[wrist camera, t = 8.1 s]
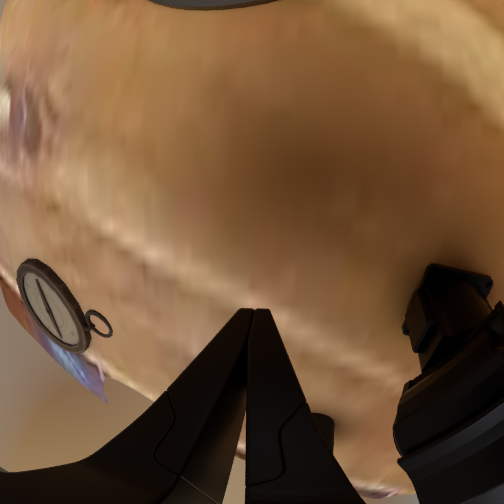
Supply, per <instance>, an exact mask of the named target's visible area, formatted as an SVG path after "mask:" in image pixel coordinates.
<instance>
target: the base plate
mask: <svg viewBox="0 0 504 504" xmlns="http://www.w3.org/2000/svg"><path fill="white" fill-rule="evenodd" d="M149 1H152V2H154V3H156V4H159V5H163V6H167V7H171V8H178V9H185V10H224V9H232V8H241V7H248V6H253V5H258V4H264V3H269V2H273V1H277V0H149Z"/></svg>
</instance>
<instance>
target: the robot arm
mask: <svg viewBox="0 0 504 504" xmlns="http://www.w3.org/2000/svg"><path fill="white" fill-rule="evenodd" d="M432 270H435V272H433V273H431V271H432ZM487 282H489V283H488V284H486V283H487ZM492 286H493V280H492V279H491V277H489V276H486V275H481V274H477V273H473V272H468V271H464V270H460V269H455V268H451V267H446V266H442V265H437V264H431V265H429V266H428V267H427V269H426V272H425V275H424V277H423V280H422V282H421V285H420V287H419V288H418V289H417V290H416V291H415V294H414V296H413V299H412V301H411V303H410V306H409V308H408V310H407V313H406V315H405V317H406V320H405V322H404V324H403V327H402V331H403V334H404V335H408V336H410V340H411V345H412V350H413V352H414V353H418V356H419V361H420V366H421V372H422V373H421V374H420V375H419V376H417V377H416V378H415V379H413V380H410V381H408V382H407V383H405V384H404V388H403V392H402V396H401V398H400V401H399V404H398V408H397V415H396V418H395V422H394V424H393V438H394V443H395V445H396V448H397V450H398V452H399V454H400V455H401V456H402V457H401V458H399V459H398V460H397V463H398V464H399V466H400V467H401V468H402V469H403V470H404V471H405V472H406V473H407V475H408V476H409V478H410V479H411V481H412V483H413V485H414V488H415V491H416V494H417V497H418V500H419V503H420V504H504V304H503V302H502V301H501V300H500V301H499V302H498V303H497V304H496V305H495V308H494V309H492V308H491V306H490V304H489V302H488V301H487V299H486V298H487V296H488V294H489V292H490V290H491V288H492ZM406 329H408V330H406ZM245 412H246V471H245V473H246V475H245V478H246V479H245V485H246V488H245V504H366V503H365V502H364V501H363V499H362V498H361V497H360V496H359V494H358V493H357V491H356V490H355V489H354V487H353V486H352V484H351V483H350V481H349V479H348V478H347V476H346V475H345V473H344V471H343V470H342V468H341V467H340V465H339V463H338V462H337V460H336V459H335V457H334V455H333V454H332V452H331V450H330V449H329V447H328V445H327V443H326V442H325V440H324V438H323V436H322V434H321V432H320V431H319V428H318V426H317V424H316V422H315V420H314V417H313V415H312V413H311V410H310V408H309V405H308V403H307V402H306V398H305V396H304V393H303V391H302V389H301V386H300V384H299V381H298V379H297V376H296V374H295V371H294V369H293V366H292V364H291V361H290V359H289V356H288V354H287V351H286V349H285V346H284V344H283V341H282V339H281V336H280V334H279V331H278V329H277V326H276V324H275V321H274V319H273V316H272V314H271V311H270V310H269V309H259V308H257V309H255V310H254V309H252V308H240V309H239V310H238V311H237V312H236V313H235V314H234V315H233V316H232V318H231V319H230V320H229V321H228V322H227V323H226V324H225V325H224V327H223V328H222V329H221V330H220V331H219V332H218V333H217V334H216V336H215V337H214V338H213V339H212V340H211V341H210V342H209V343H208V345H207V346H206V347H205V348H204V349H203V350H202V351H201V352H200V353H199V355H198V356H197V357H196V358H195V359H194V360H193V361H192V362H191V363H190V364H189V366H188V367H187V368H186V369H185V370H184V371H183V372H182V373H181V374H180V375H179V376H178V378H177V379H176V380H175V381H174V382H173V383H172V384H171V385H170V386H169V387H168V388H167V391H164V392H163V394H162V395H161V396H160V397H159V398H158V399H157V400H156V401H155V402H154V403H153V404H152V405H151V406H150V407H149V408H148V409H147V410H146V411H145V412H144V413H143V414H142V415H141V416H140V417H138V418H137V419H136V420H135V421H134V422H133V423H131V424H130V425H129V426H128V427H127V428H126V429H124V430H123V431H122V432H121V433H119V434H118V435H117V436H116V437H114V438H113V439H112V440H111V441H109V442H108V443H107V444H106V445H104V446H103V447H102V448H100V449H99V450H98V451H96V452H95V453H94V454H92V455H90V456H89V457H87V458H85V459H82V460H80V461H77V462H74V463H69V464H65V465H60V466H54V467H49V468H43V469H36V470H30V471H22V472H8V471H6V470H4V469H3V468H1V467H0V504H222V502H223V499H224V495H225V491H226V487H227V484H228V480H229V475H230V472H231V468H232V464H233V460H234V457H235V453H236V449H237V445H238V441H239V437H240V432H241V428H242V424H243V420H244V416H245Z"/></svg>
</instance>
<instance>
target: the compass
mask: <svg viewBox="0 0 504 504" xmlns="http://www.w3.org/2000/svg"><path fill="white" fill-rule="evenodd" d="M16 280H17V284H18V288H19V291H20V294H21V297H22V300H23V302H24V304H25V306H26V307H27V309H28V311H29V313H30V315H31V316H32V318H33V319H34V320H35V322H36V323H37V325H38V326H39V327H40V329H41V330H42V331H43V332H44V333H45V334H46V335H47V336H48V337H49V338H50V339H51V340H52V341H53V342H54V343H56V344H57V345H58V346H60V347H61V348H63V349H64V350H66V351H68V352H71V353H74V354H80V353H84V352H85V351H86V349H87V348H88V347H89V344H90V341H91V334H90V330H93V331H94V332H96V333H97V334H98V335H100V336H102V337H106V338H109V337H111V336H112V333H113V330H112V328H111V325H110V324H109V322H108V321H107V320H106V318H104V317H103V316H102V315H101V314H100V313H98V312H95V311H88V312H87V313H86V314H85V316H84V314H83V312H82V310H81V308H80V305H79V303H78V302H77V301H76V299H75V298H74V296H73V295H72V293H71V292H70V290H69V289H68V287H67V286H66V284H65V283H64V282H63V281H62V280H61V279H60V278H59V277H58V276H57V274H56V273H55V272H54V271H53V270H52V269H51V268H50V267H49V266H47V265H46V264H44V263H42V262H41V261H39V260H38V259H27V260H26V261H24V262H23V263H22V264H21V265H20V266H19V268H18V270H17V279H16ZM89 315H94V316H96V317H98V318H100V319H101V320H102V321H103V322H104V323H105V324H106V325H107V326H108V328H109V334H108V335H106V334H103V333H101V332H99V331H98V330H97V329H96V328H95V325H94V324H92V323H91V322H90V320H89Z"/></svg>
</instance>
